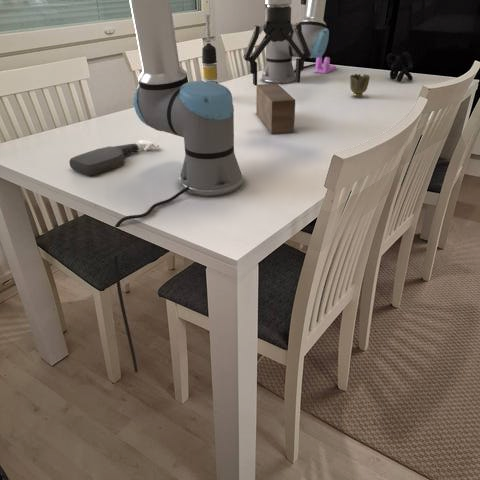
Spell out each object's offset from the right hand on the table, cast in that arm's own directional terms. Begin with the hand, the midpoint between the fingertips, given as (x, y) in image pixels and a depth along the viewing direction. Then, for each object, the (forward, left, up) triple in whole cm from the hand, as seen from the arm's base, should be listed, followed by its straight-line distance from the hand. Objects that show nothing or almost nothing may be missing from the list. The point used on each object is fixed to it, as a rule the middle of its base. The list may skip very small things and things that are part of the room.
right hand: (285, 5), depth 155 cm
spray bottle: (+64, -43, -33) cm, 84 cm away
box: (+26, -1, -33) cm, 42 cm away
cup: (-9, +29, -33) cm, 45 cm away
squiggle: (-40, +51, -33) cm, 72 cm away
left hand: (+33, -1, -19) cm, 38 cm away
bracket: (-60, +19, -33) cm, 71 cm away
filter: (-3, -29, -33) cm, 44 cm away
